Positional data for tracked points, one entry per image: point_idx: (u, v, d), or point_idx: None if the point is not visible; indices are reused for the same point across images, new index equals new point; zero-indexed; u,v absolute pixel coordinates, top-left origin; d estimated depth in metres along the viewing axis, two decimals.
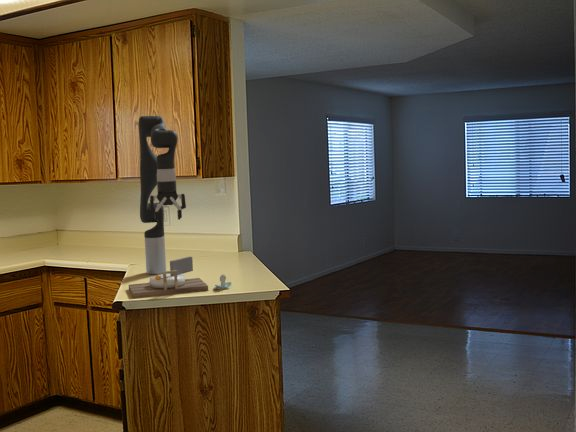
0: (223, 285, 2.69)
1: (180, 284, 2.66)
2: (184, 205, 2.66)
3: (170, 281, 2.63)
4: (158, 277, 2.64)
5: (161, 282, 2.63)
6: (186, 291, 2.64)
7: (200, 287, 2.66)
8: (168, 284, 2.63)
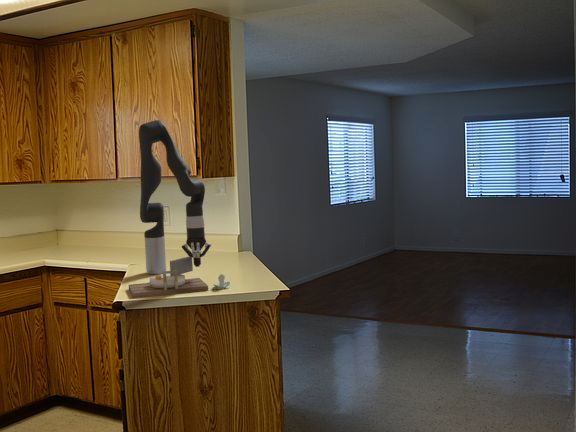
0: (222, 285, 2.69)
1: (180, 284, 2.66)
2: None
3: (170, 281, 2.63)
4: (158, 277, 2.64)
5: (161, 282, 2.63)
6: (186, 291, 2.64)
7: (200, 287, 2.66)
8: (168, 284, 2.63)
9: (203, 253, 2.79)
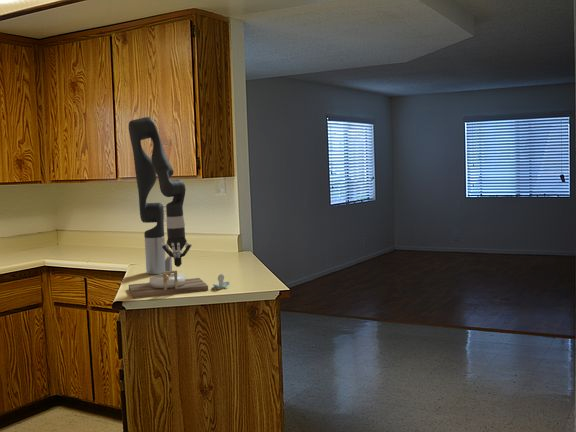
0: (221, 285, 2.70)
1: None
2: None
3: (180, 279, 2.66)
4: (167, 277, 2.64)
5: (172, 281, 2.64)
6: (186, 291, 2.64)
7: (200, 287, 2.66)
8: (179, 282, 2.66)
9: (184, 253, 2.80)
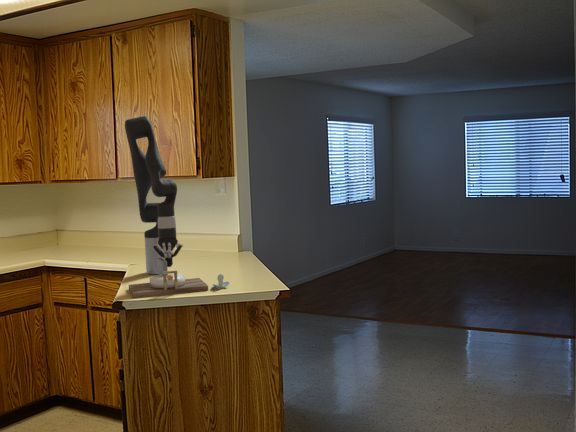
0: (221, 284, 2.70)
1: None
2: None
3: (183, 278, 2.68)
4: (172, 276, 2.65)
5: None
6: (186, 291, 2.64)
7: (200, 287, 2.66)
8: (182, 281, 2.68)
9: (174, 253, 2.80)
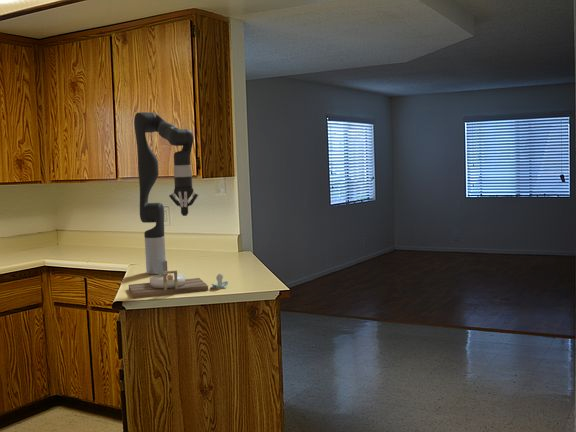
0: (220, 284, 2.70)
1: None
2: None
3: (183, 278, 2.68)
4: (172, 276, 2.65)
5: None
6: (186, 291, 2.64)
7: (200, 287, 2.66)
8: (182, 281, 2.68)
9: (190, 202, 2.82)
